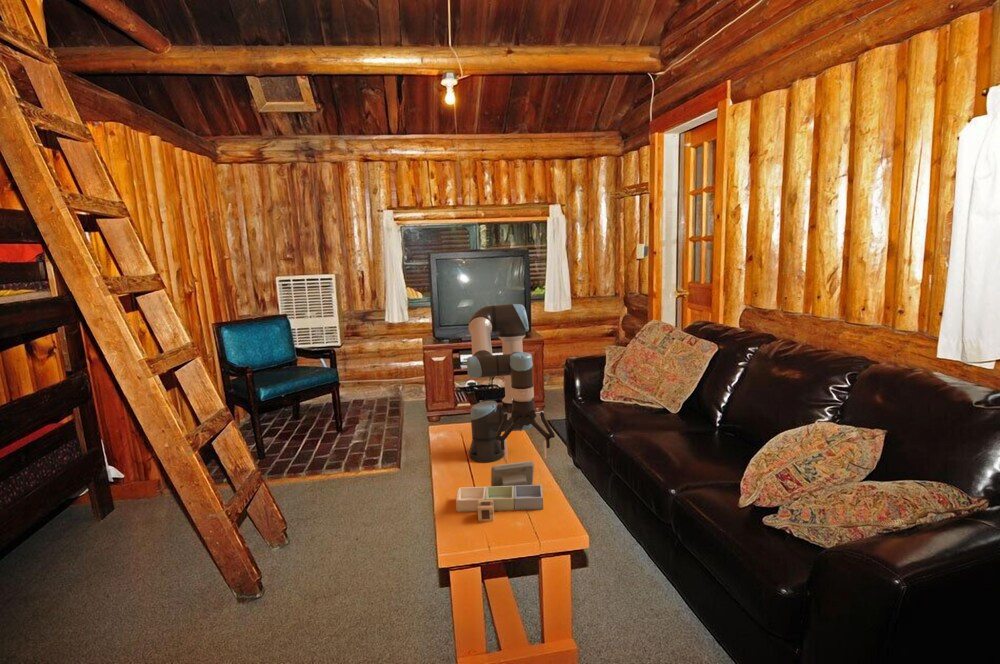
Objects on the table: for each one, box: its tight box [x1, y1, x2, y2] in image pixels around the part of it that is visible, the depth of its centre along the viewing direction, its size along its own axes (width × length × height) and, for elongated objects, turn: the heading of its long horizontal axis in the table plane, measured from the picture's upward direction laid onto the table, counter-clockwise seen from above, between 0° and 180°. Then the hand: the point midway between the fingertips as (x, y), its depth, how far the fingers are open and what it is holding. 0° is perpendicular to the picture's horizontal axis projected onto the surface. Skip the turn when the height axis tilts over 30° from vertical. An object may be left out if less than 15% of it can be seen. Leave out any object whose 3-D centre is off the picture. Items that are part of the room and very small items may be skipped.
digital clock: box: [490, 460, 535, 486], centre depth 195 cm, size 16×9×11 cm, turn 89°
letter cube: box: [477, 500, 495, 522], centre depth 177 cm, size 5×5×5 cm
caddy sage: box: [485, 485, 515, 512], centre depth 185 cm, size 10×10×4 cm
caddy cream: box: [455, 486, 487, 513], centre depth 186 cm, size 10×10×4 cm
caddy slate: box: [514, 484, 544, 511], centre depth 185 cm, size 10×10×4 cm
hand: (525, 457), depth 183 cm, fingers open, 13 cm apart
